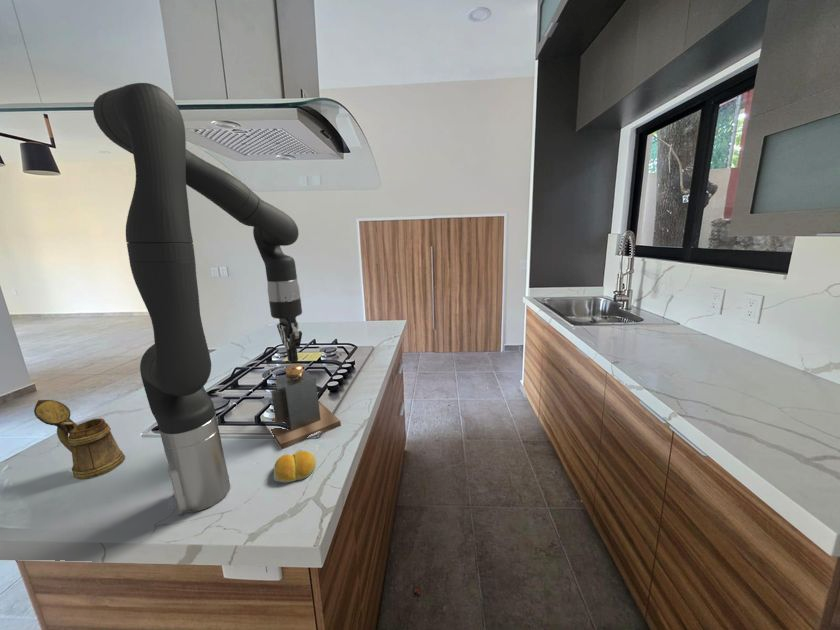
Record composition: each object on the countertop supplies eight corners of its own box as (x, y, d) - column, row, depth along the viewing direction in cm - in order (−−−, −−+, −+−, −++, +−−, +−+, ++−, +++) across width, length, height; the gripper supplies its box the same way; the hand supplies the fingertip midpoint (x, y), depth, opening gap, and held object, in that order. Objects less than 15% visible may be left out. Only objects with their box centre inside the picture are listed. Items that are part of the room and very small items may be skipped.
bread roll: (318, 476, 75) (316, 460, 74) (274, 489, 72) (271, 473, 71) (314, 454, 83) (312, 440, 82) (274, 465, 80) (272, 450, 79)
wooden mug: (78, 456, 85) (56, 391, 81) (134, 453, 86) (116, 387, 81) (41, 482, 77) (15, 410, 72) (104, 478, 77) (82, 406, 73)
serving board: (281, 449, 85) (280, 444, 84) (264, 423, 97) (263, 418, 97) (340, 425, 94) (340, 420, 94) (318, 404, 107) (317, 399, 106)
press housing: (282, 434, 89) (275, 390, 85) (273, 422, 95) (266, 380, 92) (320, 420, 95) (315, 378, 92) (309, 409, 101) (304, 369, 98)
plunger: (293, 422, 91) (286, 373, 87) (286, 414, 96) (279, 366, 92) (315, 414, 94) (309, 366, 91) (307, 406, 99) (301, 360, 96)
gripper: (262, 296, 90) (271, 358, 94) (277, 303, 80) (287, 372, 84) (290, 292, 94) (298, 351, 98) (308, 298, 84) (316, 364, 88)
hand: (293, 361), depth 91 cm, fingers closed
